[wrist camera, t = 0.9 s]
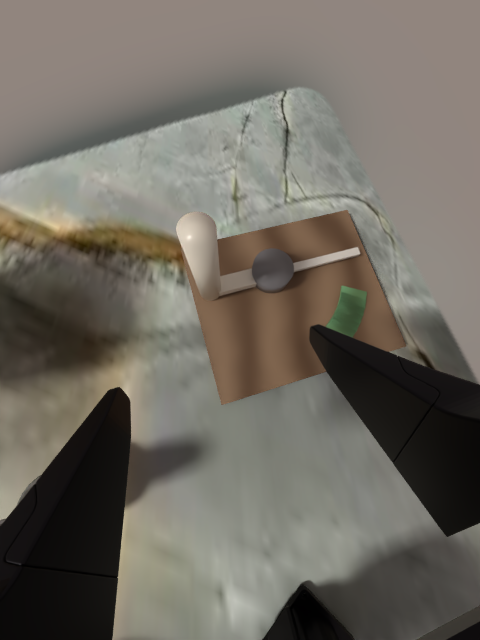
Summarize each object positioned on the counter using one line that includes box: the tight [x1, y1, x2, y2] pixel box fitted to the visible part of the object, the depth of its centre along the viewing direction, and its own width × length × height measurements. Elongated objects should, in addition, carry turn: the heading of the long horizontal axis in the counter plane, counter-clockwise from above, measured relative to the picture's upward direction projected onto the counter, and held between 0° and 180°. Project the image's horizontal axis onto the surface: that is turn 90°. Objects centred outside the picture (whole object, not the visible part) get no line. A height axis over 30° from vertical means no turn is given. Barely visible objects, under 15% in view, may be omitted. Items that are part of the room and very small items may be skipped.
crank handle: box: [176, 212, 360, 301], centre depth 19 cm, size 19×4×11 cm, turn 106°
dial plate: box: [181, 210, 406, 405], centre depth 25 cm, size 22×18×1 cm
